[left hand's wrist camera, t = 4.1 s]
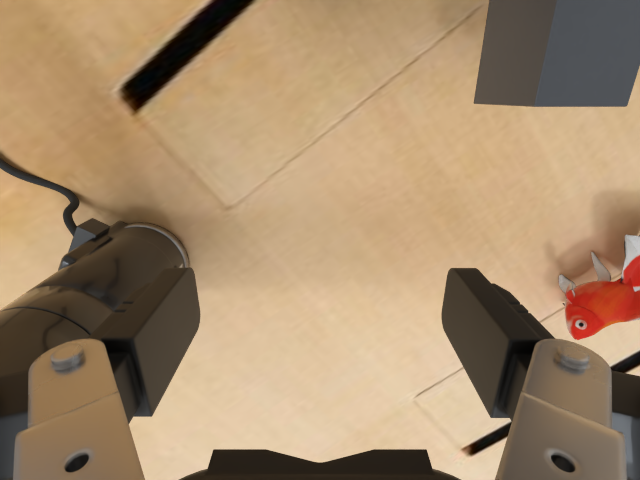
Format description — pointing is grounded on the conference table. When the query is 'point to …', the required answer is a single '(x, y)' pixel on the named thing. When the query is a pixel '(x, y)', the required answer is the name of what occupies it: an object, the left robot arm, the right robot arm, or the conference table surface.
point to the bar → (559, 53)
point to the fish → (604, 295)
